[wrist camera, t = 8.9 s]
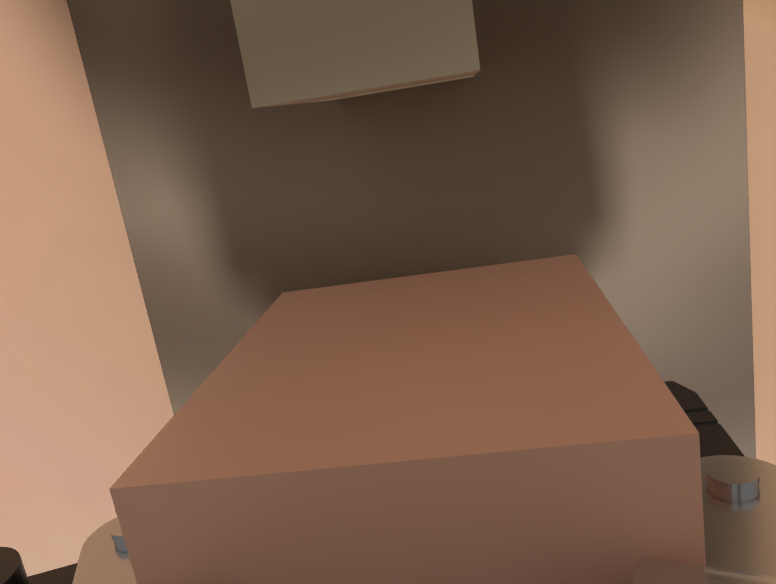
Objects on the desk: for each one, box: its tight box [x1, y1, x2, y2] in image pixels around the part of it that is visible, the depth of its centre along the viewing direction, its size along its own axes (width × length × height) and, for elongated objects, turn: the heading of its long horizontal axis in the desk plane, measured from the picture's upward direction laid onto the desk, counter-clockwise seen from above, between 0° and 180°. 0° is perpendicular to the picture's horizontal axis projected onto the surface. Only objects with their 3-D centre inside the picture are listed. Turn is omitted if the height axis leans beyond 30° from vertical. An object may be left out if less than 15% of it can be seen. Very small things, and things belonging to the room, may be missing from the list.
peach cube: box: [110, 254, 706, 584], centre depth 10 cm, size 5×5×7 cm
